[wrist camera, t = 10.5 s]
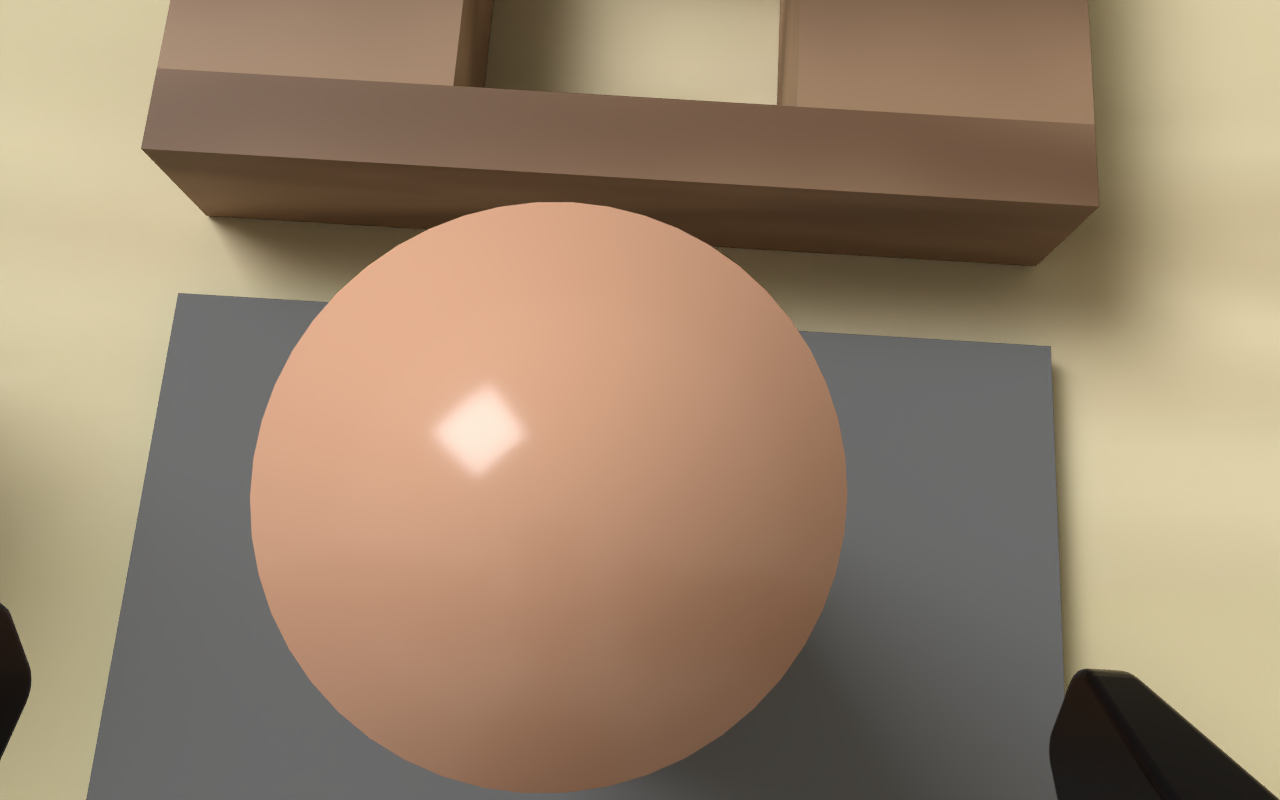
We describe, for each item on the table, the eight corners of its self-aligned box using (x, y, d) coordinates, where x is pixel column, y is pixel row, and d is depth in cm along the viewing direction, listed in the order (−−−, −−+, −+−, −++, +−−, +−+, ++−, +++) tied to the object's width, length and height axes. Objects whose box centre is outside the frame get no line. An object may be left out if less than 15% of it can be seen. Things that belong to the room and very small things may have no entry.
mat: (1057, 866, 19) (1071, 873, 18) (101, 805, 19) (84, 810, 18) (1038, 354, 21) (1051, 346, 21) (190, 302, 21) (178, 293, 21)
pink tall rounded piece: (631, 768, 19) (633, 928, 8) (405, 609, 19) (125, 561, 9) (778, 533, 20) (954, 395, 9) (559, 391, 20) (481, 104, 10)
